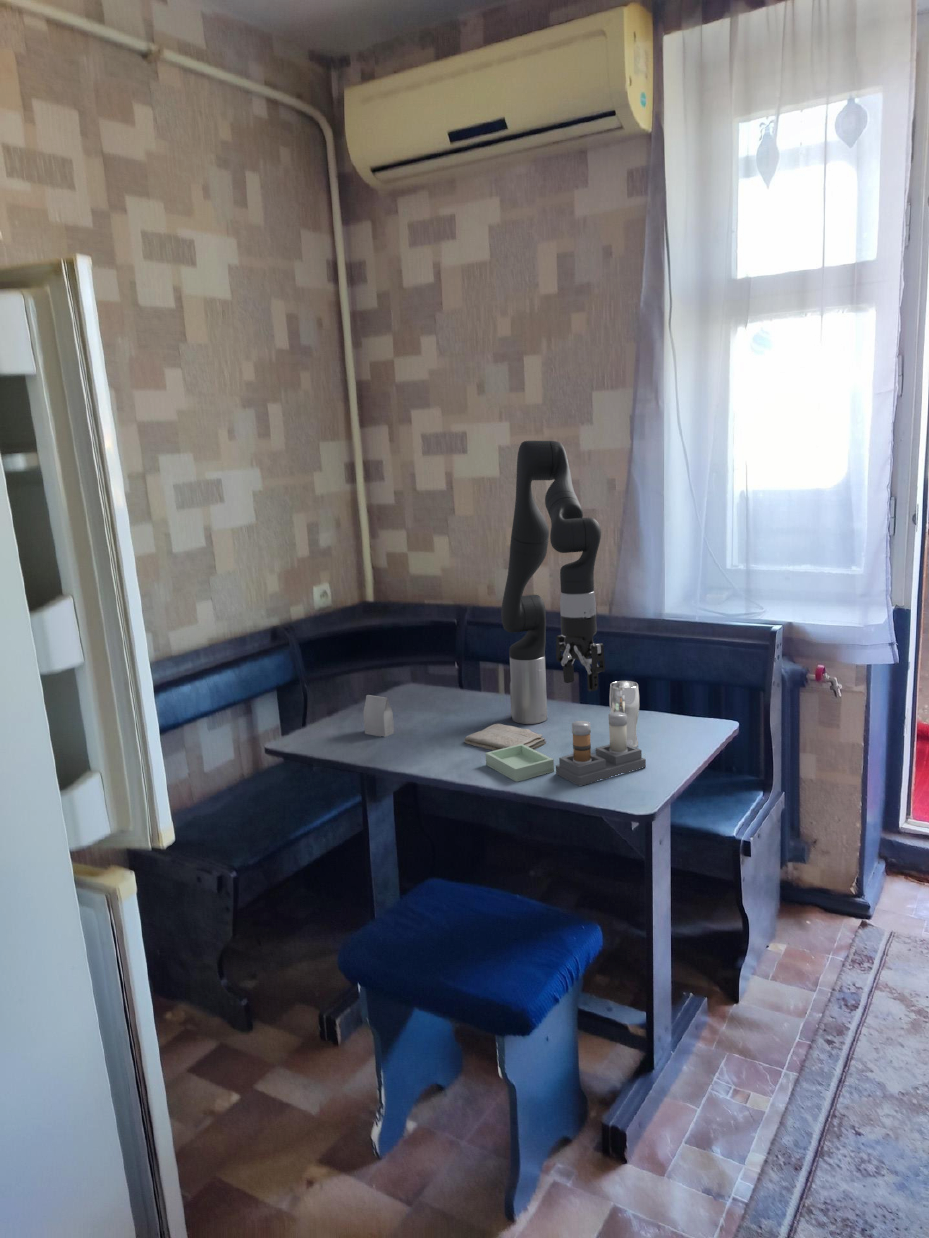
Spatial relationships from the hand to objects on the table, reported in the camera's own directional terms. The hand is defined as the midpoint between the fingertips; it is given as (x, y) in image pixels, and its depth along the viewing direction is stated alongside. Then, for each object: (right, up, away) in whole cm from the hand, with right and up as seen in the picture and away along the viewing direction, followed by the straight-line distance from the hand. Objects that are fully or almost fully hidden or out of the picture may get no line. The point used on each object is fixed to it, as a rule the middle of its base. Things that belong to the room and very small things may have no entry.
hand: (580, 686), depth 195 cm
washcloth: (-15, -17, +28) cm, 36 cm away
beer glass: (+13, -16, +22) cm, 30 cm away
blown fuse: (+1, -18, +4) cm, 18 cm away
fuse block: (+5, -19, +6) cm, 21 cm away
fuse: (+10, -17, +8) cm, 21 cm away
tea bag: (-47, -16, +41) cm, 65 cm away
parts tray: (-13, -19, +11) cm, 25 cm away
